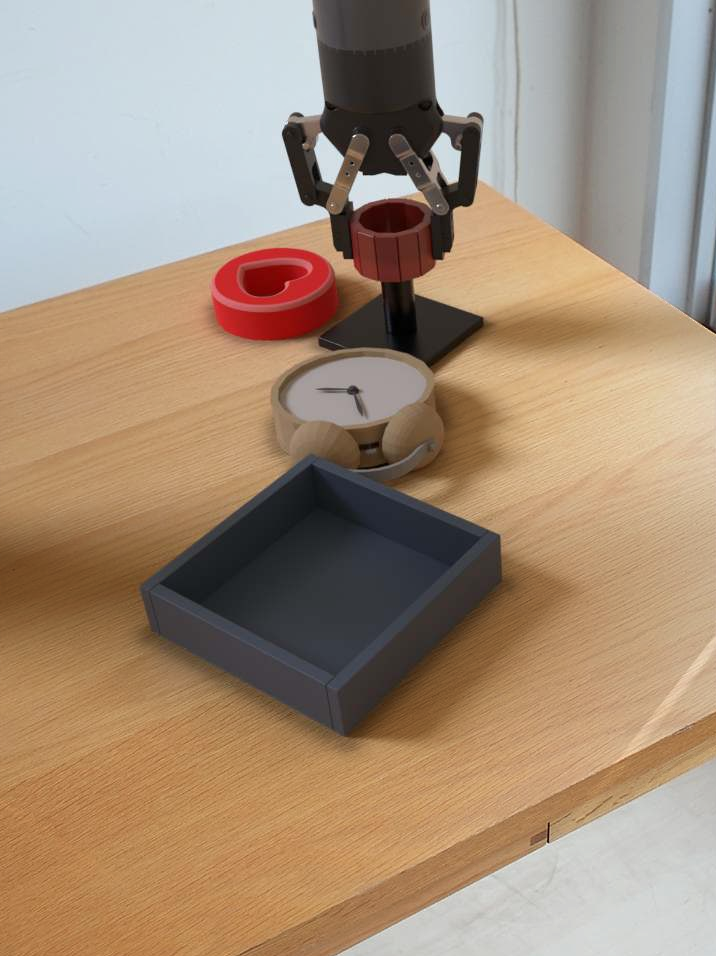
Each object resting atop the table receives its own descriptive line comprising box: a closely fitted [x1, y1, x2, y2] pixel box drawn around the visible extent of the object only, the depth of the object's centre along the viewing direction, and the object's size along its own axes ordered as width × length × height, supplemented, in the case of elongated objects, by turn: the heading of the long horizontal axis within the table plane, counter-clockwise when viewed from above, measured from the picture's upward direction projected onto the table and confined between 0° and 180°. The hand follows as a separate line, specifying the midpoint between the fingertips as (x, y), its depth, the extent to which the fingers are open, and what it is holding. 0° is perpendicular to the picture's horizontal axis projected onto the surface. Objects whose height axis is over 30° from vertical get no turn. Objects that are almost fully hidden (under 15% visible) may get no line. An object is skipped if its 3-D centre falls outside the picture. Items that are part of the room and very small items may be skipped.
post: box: [317, 279, 485, 369], centre depth 98 cm, size 9×9×8 cm
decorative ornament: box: [209, 247, 339, 342], centre depth 104 cm, size 10×10×3 cm
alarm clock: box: [269, 348, 445, 484], centre depth 89 cm, size 11×5×15 cm
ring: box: [349, 197, 438, 283], centre depth 96 cm, size 6×6×4 cm
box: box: [139, 453, 503, 738], centre depth 77 cm, size 15×15×4 cm
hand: (394, 253), depth 96 cm, fingers closed on ring, 6 cm apart
